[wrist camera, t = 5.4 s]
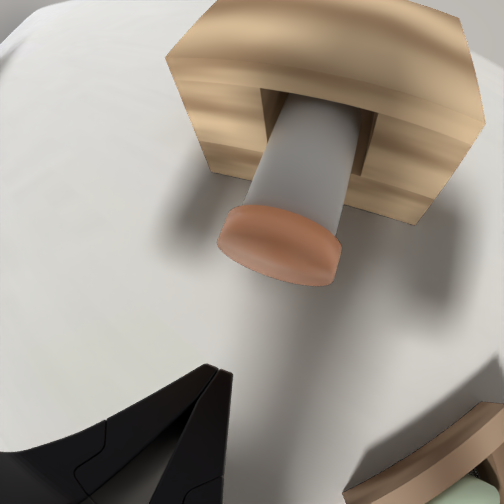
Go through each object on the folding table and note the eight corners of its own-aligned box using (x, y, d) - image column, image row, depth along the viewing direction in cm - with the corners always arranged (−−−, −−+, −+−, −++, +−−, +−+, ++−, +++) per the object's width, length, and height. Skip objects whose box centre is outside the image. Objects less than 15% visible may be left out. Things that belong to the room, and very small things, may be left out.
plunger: (327, 294, 15) (342, 261, 10) (229, 264, 16) (203, 222, 11) (361, 153, 17) (376, 91, 12) (279, 133, 18) (274, 70, 13)
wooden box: (415, 225, 19) (485, 123, 9) (211, 171, 22) (164, 57, 12) (422, 117, 22) (458, 18, 12) (257, 79, 25) (241, -23, 15)
